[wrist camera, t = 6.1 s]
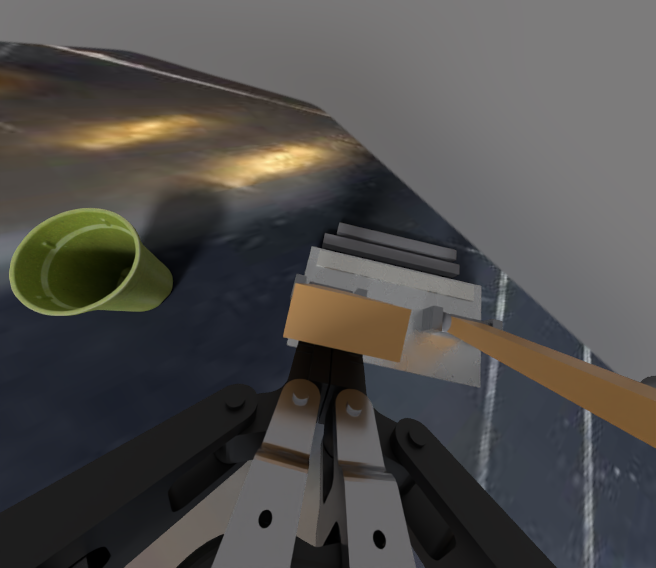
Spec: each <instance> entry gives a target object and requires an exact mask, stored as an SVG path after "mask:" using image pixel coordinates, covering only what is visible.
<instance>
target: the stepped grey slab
mask: <svg viewBox="0 0 656 568" xmlns="http://www.w3.org/2000/svg"><path fill="white" fill-rule="evenodd" d="M322 248H327V249H331V250H335V251H339V252H344V253H348V254H352V255H357V256H361V257H365V258H369V259H374V260H378V261H382V262H386V263H391V264H395V265H399V266H403V267H408V268H412V269H416V270H421V271H425V272H429V273H433V274H438V275H442V276H446V277H450V278H454V277H456V276H458V275H459V269H460V265H458V264H454V263H452V262H453V261H455V260H456V253H457V250H453V249H449V248H445V247H441V246H436V245H432V244H428V243H424V242H420V241H415V240H411V239H407V238H403V237H399V236H394V235H390V234H386V233H382V232H378V231H373V230H369V229H365V228H361V227H357V226H352V225H348V224H344V223H339V227H338V231H337V235H331V234H327V233H325V236H324V240H323V245H322Z"/></svg>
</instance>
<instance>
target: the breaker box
mask: <svg viewBox="0 0 656 568" xmlns="http://www.w3.org/2000/svg"><path fill="white" fill-rule="evenodd" d="M310 281H311V282H316V283H320V284H324V285H329V286H333V287H337V288H342V289H346V290H350V291H353V294H357V295H361V296H364V297H368V298H371V299H375V300H379V301H382V302H386V303H389V304H393V305H396V306H400V307H404V308H407V309H411V315H410V319H409V324H408V328H407V332H406V337H405V341H404V346H403V350H402V355H401V359H400V363H398V362H394V361H389V360H385V359H380V358H376V357H371V356H367V355H363V362H364V363H368V364H373V365H377V366H382V367H386V368H391V369H396V370H400V371H405V372H409V373H414V374H418V375H423V376H427V377H432V378H436V379H441V380H445V381H450V382H454V383H459V384H464V385H469V386H474V387H479V388H480V363H481V351H480V350H479V349H477V348H475V347H473V346H472V345H470V344H468V343H466V342H464V341H463V340H461V339H459V338H457V337H455V336H454V335H452V334H450V333H446V332H441V331H442V320H443V312H446V313H450V314H455V315H459V316H463V317H468V318H472V319H477V320H481V286H479V285H474V284H470V283H466V282H462V281H457V280H453V279H449V278H445V277H440V276H436V275H432V274H427V273H423V272H419V271H415V270H410V269H406V268H402V267H398V266H393V265H389V264H385V263H381V262H376V261H372V260H368V259H363V258H359V257H355V256H351V255H346V254H342V253H338V252H334V251H329V250H325V249H321V248H316V247H312V248H311V252H310V256H309V260H308V264H307V268H306V272H305V276H304V275H299V274H297V275H296V278H295V282H294V286H293V290H292V293H291V300H292V296H293V291H294V287H295V283H303V284H309V282H310ZM485 322H487V323H488V325H489V326H491V327H494V328H497V329H499V330H502V321H499V320H495V319H490V320H485ZM298 341H299V340H295V339H290V338H288V342H287V345H288V346H292V347H296V348H297V345H298Z"/></svg>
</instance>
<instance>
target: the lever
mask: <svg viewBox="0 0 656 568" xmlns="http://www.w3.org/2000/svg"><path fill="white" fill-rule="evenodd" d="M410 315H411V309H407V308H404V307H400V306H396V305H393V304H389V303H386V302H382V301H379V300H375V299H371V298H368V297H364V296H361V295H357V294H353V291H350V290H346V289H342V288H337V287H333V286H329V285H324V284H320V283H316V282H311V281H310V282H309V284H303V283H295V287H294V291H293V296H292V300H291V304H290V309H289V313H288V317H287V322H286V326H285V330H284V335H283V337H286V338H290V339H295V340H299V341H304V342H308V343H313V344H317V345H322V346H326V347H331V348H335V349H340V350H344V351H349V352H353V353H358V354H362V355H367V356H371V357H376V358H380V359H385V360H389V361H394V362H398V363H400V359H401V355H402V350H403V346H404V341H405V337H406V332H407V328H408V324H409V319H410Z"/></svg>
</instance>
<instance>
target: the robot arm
mask: <svg viewBox="0 0 656 568" xmlns="http://www.w3.org/2000/svg"><path fill="white" fill-rule="evenodd" d="M640 383H643V384H645V385H648V386H651V387H653V388H656V376H651V377H647V378H645V379H643V380H642V381H641V382H640ZM318 417H319V422H318V423H319V424H325V425H324V436H323V439H322V442H321V456H320V505H319V515H318V521H317V529H316V547H314V546H312V545H310V544H309V543H307V542H305V541H304V540H302V539H300V538H298V537H297V536H296V533H297V527H298V522H299V517H300V511H301V506H302V501H303V495H304V490H305V485H306V479H307V474H308V468H309V456H310V450H311V445H312V440H313V435H314V430H315V424H316V423H317V421H318ZM248 460H253V461H252V464H251V466H250V469H249V472H248V474H247V477H246V479H245V482H244V485H243V487H242V490H241V492H240V495H239V498H238V500H237V503H236V505H235V508H234V510H233V513H232V516H231V518H230V521H229V523H228V526H227V529H226V531H225V534H222V535H220V536H217V537H216V538H214V539H212V540H210V541H208V542H206V543H205V544H204V545H202V546H201V547H199V548H198V549H196V550H195V551H194V552H193V553H192V554H190V555H189V556H188V557H187V558H186V559H185V560H184V561H183V562H182V563H180V564H179V565H178V566H177V567H176V568H416V566H415V561H414V557H413V552H412V548H411V546H412V547H413V549H414V551H415V552H416V554H417V555H418V557H419V558H420V560H421V562H422V563H423V565H424V566H425V568H557V567H556V566H555V565H554V564H553V563H552V562H551V561H550V560H549V559H548V558H547V557H546V556H545V554H544V553H543V552H542V551H541V550H540V549H539V548H538V547H537V546H536V545H535V544H534V543H533V542H532V540H531V539H530V538H529V537H528V536H527V535H526V534H525V533H524V532H523V531H522V530H521V529H520V528H519V526H518V525H517V524H516V523H515V522H514V521H513V520H512V519H511V518H510V517H509V516H508V515H507V514H506V512H505V511H504V510H503V509H502V508H501V507H500V506H499V505H498V504H497V503H496V502H495V501H494V500H493V498H492V497H491V496H490V495H489V494H488V493H487V492H486V491H485V490H484V489H483V488H482V487H481V486H480V485H479V483H478V482H477V481H476V480H475V479H474V478H473V477H472V476H471V475H470V474H469V473H468V472H467V471H466V469H465V468H464V467H463V466H462V465H461V464H460V463H459V462H458V461H457V460H456V459H455V458H454V457H453V455H452V454H451V453H450V452H449V451H448V450H447V449H446V448H445V447H444V446H443V445H442V444H441V443H440V441H439V440H438V439H437V438H436V437H435V436H434V435H433V434H432V433H431V432H430V431H429V430H428V429H427V428H426V427H425V426H424V425H423V424H422V423H420V422H419V421H416V420H414V419H410V418H404V419H401V420H400V421H399V422H398V423H397V422H395V421H393V420H391V419H389V418H387V417H385V416H383V415H382V414H380V413H379V412H377V411H376V410H375V409H374V408H373V406H372V403H371V401H370V400H369V398H368V397H367V394H366V385H365V374H364V366H363V355H362V354H358V353H353V352H349V351H344V350H340V349H335V348H331V347H326V346H322V345H317V344H313V343H308V342H304V341H298V345H297V348H296V352H295V356H294V359H293V363H292V367H291V371H290V374H289V378H288V380H287V382H286V383H285V385H284V386H283V387H281V388H280V389H278V390H276V391H273V392H269V393H260V394H256V392H255V390H254V389H253V388H251V387H250V386H247V385H244V384H234V385H230V386H227V387H225V388H223V389H222V390H220V391H218V392H216V393H214V394H213V395H211V396H209V397H207V398H206V399H204V400H202V401H200V402H198V403H197V404H195V405H193V406H191V407H189V408H188V409H186V410H184V411H182V412H180V413H179V414H177V415H175V416H173V417H171V418H170V419H168V420H166V421H164V422H162V423H161V424H159V425H157V426H155V427H153V428H152V429H150V430H148V431H146V432H145V433H143V434H141V435H139V436H137V437H136V438H134V439H132V440H130V441H128V442H127V443H125V444H123V445H121V446H119V447H118V448H116V449H114V450H112V451H110V452H109V453H107V454H105V455H103V456H101V457H100V458H98V459H96V460H94V461H93V462H91V463H89V464H87V465H85V466H84V467H82V468H80V469H78V470H76V471H75V472H73V473H71V474H69V475H67V476H66V477H64V478H62V479H60V480H58V481H57V482H55V483H53V484H51V485H49V486H48V487H46V488H44V489H42V490H40V491H39V492H37V493H35V494H33V495H32V496H30V497H28V498H26V499H24V500H23V501H21V502H19V503H17V504H15V505H14V506H12V507H10V508H8V509H6V510H5V511H3V512H1V513H0V568H124V567H125V566H126V565H127V564H128V563H129V562H131V561H132V560H133V559H134V558H135V557H136V556H138V555H139V554H140V553H141V552H142V551H143V550H145V549H146V548H147V547H148V546H149V545H150V544H152V543H153V542H154V541H155V540H156V539H157V538H159V537H160V536H161V535H162V534H163V533H165V532H166V531H167V530H168V529H169V528H170V527H172V526H173V525H174V524H175V523H176V522H177V521H179V520H180V519H181V518H182V517H183V516H184V515H186V514H187V513H188V512H189V511H190V510H191V509H193V508H194V507H195V506H196V505H197V504H198V503H200V502H201V501H202V500H203V499H204V498H205V497H207V496H208V495H209V494H210V493H211V492H212V491H214V490H215V489H216V488H217V487H218V486H219V485H221V484H222V483H223V482H224V481H225V480H226V479H228V478H229V477H230V476H231V475H232V474H233V473H235V472H236V471H237V470H238V469H239V468H240V467H242V466H243V465H244V464H245V463H246V462H247V461H248ZM374 542H375V543H374Z"/></svg>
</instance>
